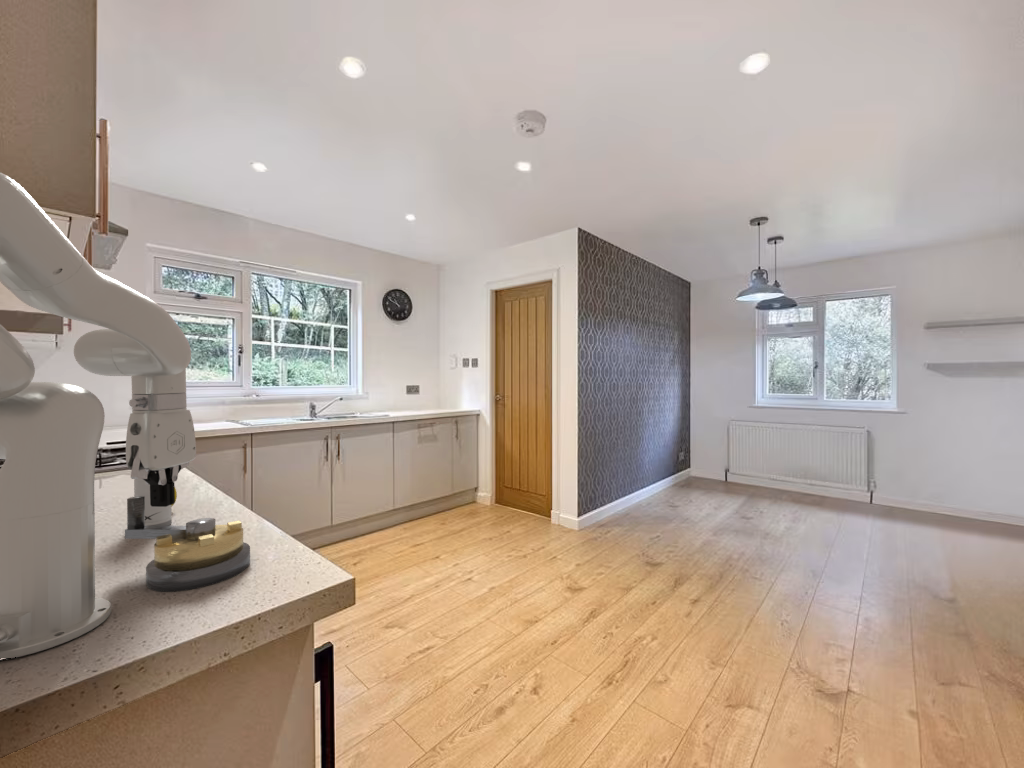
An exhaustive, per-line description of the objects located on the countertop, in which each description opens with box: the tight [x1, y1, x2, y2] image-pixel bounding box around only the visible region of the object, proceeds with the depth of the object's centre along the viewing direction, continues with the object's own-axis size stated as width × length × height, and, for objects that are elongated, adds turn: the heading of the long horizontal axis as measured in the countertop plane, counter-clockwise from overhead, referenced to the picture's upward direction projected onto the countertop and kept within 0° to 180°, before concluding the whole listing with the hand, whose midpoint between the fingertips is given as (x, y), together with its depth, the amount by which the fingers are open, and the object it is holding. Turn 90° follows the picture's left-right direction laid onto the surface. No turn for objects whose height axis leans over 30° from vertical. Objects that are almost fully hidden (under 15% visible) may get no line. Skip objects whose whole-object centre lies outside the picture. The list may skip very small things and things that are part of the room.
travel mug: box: [133, 472, 173, 526], centre depth 94 cm, size 6×7×20 cm
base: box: [145, 541, 251, 593], centre depth 71 cm, size 14×14×2 cm
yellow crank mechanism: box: [124, 496, 244, 570], centre depth 71 cm, size 18×12×10 cm, turn 89°
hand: (162, 504), depth 77 cm, fingers closed
